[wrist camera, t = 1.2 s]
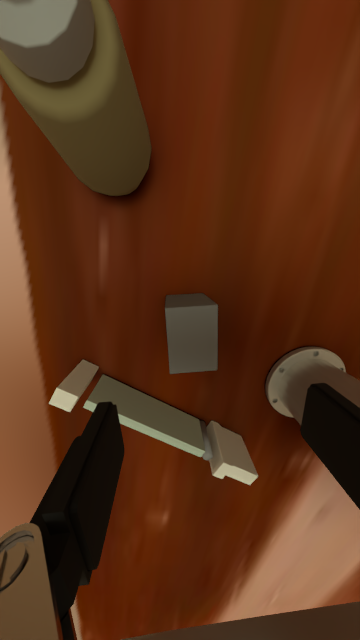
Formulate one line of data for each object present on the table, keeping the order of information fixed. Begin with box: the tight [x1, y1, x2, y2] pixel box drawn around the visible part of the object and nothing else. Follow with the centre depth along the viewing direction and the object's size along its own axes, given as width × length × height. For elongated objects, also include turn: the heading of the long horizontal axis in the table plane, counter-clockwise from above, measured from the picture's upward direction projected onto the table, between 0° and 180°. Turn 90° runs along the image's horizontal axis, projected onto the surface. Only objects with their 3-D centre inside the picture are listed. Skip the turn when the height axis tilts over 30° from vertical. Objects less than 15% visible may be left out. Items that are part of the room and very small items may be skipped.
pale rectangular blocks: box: [49, 359, 258, 485], centre depth 26 cm, size 30×3×7 cm, turn 58°
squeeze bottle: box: [0, 0, 151, 196], centre depth 12 cm, size 8×8×18 cm
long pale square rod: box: [83, 374, 213, 460], centre depth 27 cm, size 19×2×6 cm, turn 58°
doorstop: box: [165, 293, 218, 374], centre depth 22 cm, size 5×7×8 cm
